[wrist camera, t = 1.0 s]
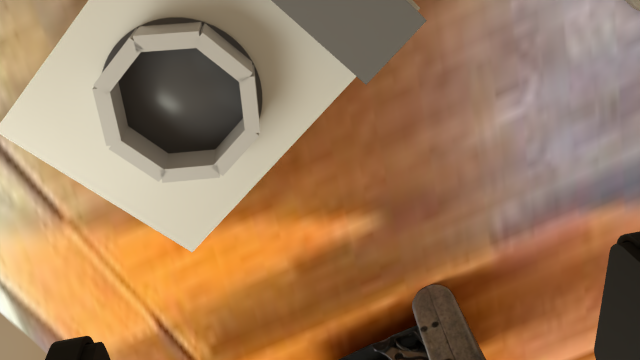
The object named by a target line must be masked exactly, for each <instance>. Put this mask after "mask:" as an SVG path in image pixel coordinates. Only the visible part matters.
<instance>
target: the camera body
mask: <svg viewBox="0 0 640 360" xmlns="http://www.w3.org/2000/svg"><path fill="white" fill-rule="evenodd" d="M419 9H420V7H419V6H418V5H417V4H416V3H415V2H414V1H413V0H88V2H87V3H86V5H85V6H84V7H83V9H82V10H81V12H80V13H79V14H78V16H77V17H76V19H75V20H74V21H73V23H72V24H71V26H70V27H69V28H68V30H67V31H66V33H65V34H64V35H63V37H62V38H61V40H60V41H59V42H58V44H57V45H56V46H55V48H54V49H53V51H52V52H51V53H50V55H49V56H48V58H47V59H46V60H45V62H44V63H43V65H42V66H41V67H40V69H39V70H38V72H37V73H36V74H35V76H34V77H33V79H32V80H31V81H30V83H29V84H28V86H27V87H26V88H25V90H24V91H23V92H22V94H21V95H20V97H19V98H18V99H17V101H16V102H15V104H14V105H13V106H12V108H11V109H10V111H9V112H8V113H7V115H6V116H5V118H4V119H3V120H2V122H1V123H0V135H2V136H4V137H5V138H7V139H8V140H10V141H12V142H13V143H15V144H17V145H18V146H20V147H21V148H23V149H25V150H26V151H28V152H30V153H31V154H33V155H35V156H36V157H38V158H39V159H41V160H43V161H44V162H46V163H48V164H49V165H51V166H52V167H54V168H56V169H57V170H59V171H61V172H62V173H64V174H65V175H67V176H69V177H70V178H72V179H74V180H75V181H77V182H79V183H80V184H82V185H83V186H85V187H87V188H88V189H90V190H92V191H93V192H95V193H96V194H98V195H100V196H101V197H103V198H105V199H106V200H108V201H109V202H111V203H113V204H114V205H116V206H118V207H119V208H121V209H122V210H124V211H126V212H127V213H129V214H131V215H132V216H134V217H136V218H137V219H139V220H140V221H142V222H144V223H145V224H147V225H149V226H150V227H152V228H153V229H155V230H157V231H158V232H160V233H162V234H163V235H165V236H166V237H168V238H170V239H171V240H173V241H175V242H176V243H178V244H180V245H181V246H183V247H184V248H186V249H188V250H189V251H191V252H193V251H194V250H195V249H196V248H197V247H198V246H199V245H200V243H201V242H202V241H203V240H204V239H205V238H206V237H207V236H208V235H209V234H210V233H211V232H212V231H213V230H214V228H215V227H216V226H217V225H218V224H219V223H220V222H221V221H222V220H223V219H224V218H225V217H226V216H227V215H228V213H229V212H230V211H231V210H232V209H233V208H234V207H235V206H236V205H237V204H238V203H239V202H240V201H241V199H242V198H243V197H244V196H245V195H246V194H247V193H248V192H249V191H250V190H251V189H252V188H253V187H254V186H255V184H256V183H257V182H258V181H259V180H260V179H261V178H262V177H263V176H264V175H265V174H266V173H267V172H268V171H269V169H270V168H271V167H272V166H273V165H274V164H275V163H276V162H277V161H278V160H279V159H280V158H281V157H282V156H283V154H284V153H285V152H286V151H287V150H288V149H289V148H290V147H291V146H292V145H293V144H294V143H295V142H296V141H297V139H298V138H299V137H300V136H301V135H302V134H303V133H304V132H305V131H306V130H307V129H308V128H309V127H310V126H311V124H312V123H313V122H314V121H315V120H316V119H317V118H318V117H319V116H320V115H321V114H322V113H323V112H324V111H325V109H326V108H327V107H328V106H329V105H330V104H331V103H332V102H333V101H334V100H335V99H336V98H337V97H338V96H339V94H340V93H341V92H342V91H343V90H344V89H345V88H346V87H347V86H348V85H349V84H350V83H351V82H352V81H353V79H354V78H355V77H356V76H357V77H358V78H359V79H360V80H361V81H362V82H364V83H365V84H367V83H368V82H369V81H370V80H371V79H372V78H373V77H374V76H375V75H376V74H377V73H378V72H379V71H380V70H381V68H382V67H383V66H384V65H385V64H386V63H387V62H388V61H389V60H390V59H391V58H392V57H393V56H394V55H395V54H396V53H397V52H398V50H399V49H400V48H401V47H402V46H403V45H404V44H405V43H406V42H407V41H408V40H409V39H410V38H411V37H412V36H413V35H414V34H415V32H416V31H417V30H418V29H419V28H420V27H421V26H422V25H423V24H424V23H425V22H426V21H427V20H426V19H425V18H424V17H423V16H422V15H421V14H420V13H419V12H418V10H419Z"/></svg>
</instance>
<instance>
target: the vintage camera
mask: <svg viewBox="0 0 640 360" xmlns="http://www.w3.org/2000/svg"><path fill="white" fill-rule="evenodd" d="M412 309H413V312H414V316H415V319H416V322H417V325H416V326H414V327H411V328H409V329H406V330H404V331H401V332H399V333H397V334H394V335H392V336H390V337H389V338H387V339H385V340H383V341H380V342H377V343H374V344H371V345H368V346H366V347H364V348H362V349H360V350H358V351H356V352H353V353H351V354H349V355H347V356H345V357H343V358H341V359H339V360H486V359H485V357H484V355H483V353H482V351H481V349H480V347H479V345H478V343H477V341H476V339H475V338H474V336H473V334H472V332H471V330H470V328H469V326H468V324H467V322H466V320H465V317H464V315H463V313H462V311H461V309H460V307H459V305H458V303H457V301H456V299H455V297H454V295H453V294H452V292H451V291H450V290H449V289H448V288H447V287H445V286H442V285H429V286H427V287H425V288H423V289H421V290H420V291H419V292H418V293H417V294H416V296H415V298H414V300H413V302H412Z"/></svg>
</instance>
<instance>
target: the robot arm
mask: <svg viewBox="0 0 640 360" xmlns="http://www.w3.org/2000/svg"><path fill="white" fill-rule="evenodd" d="M625 1H626V2H627V3H628V4H629V5H630V6H632V7H633V8H634V9H636V10H638V11H640V0H625ZM594 353H595V357H596V360H640V232H635V233H630V234H624V235H622V236H620V238H619V239H618V241H617V244H615V245H613V246H612V247H611V250H610V254H609V260H608V267H607V273H606V279H605V285H604V291H603V297H602V304H601V310H600V316H599V322H598V328H597V335H596V341H595V347H594ZM45 360H110V357H109V355H108V352H107V350H106V348H105V346H104V344H103V343H102V342H97V343H94V342H93V340H92V338H91V337H89V336H83V337H78V338H73V339H67V340H62V341H57V342H54V343H53V344H52V345H51V347H50V349H49V351H48V354H47V356H46V359H45Z"/></svg>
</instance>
